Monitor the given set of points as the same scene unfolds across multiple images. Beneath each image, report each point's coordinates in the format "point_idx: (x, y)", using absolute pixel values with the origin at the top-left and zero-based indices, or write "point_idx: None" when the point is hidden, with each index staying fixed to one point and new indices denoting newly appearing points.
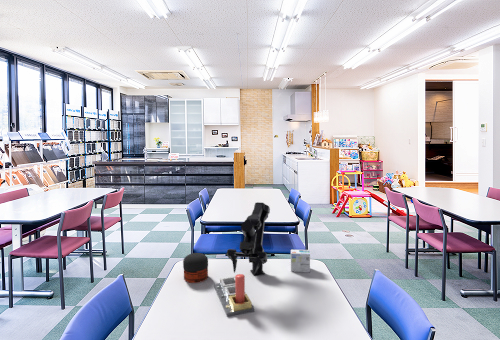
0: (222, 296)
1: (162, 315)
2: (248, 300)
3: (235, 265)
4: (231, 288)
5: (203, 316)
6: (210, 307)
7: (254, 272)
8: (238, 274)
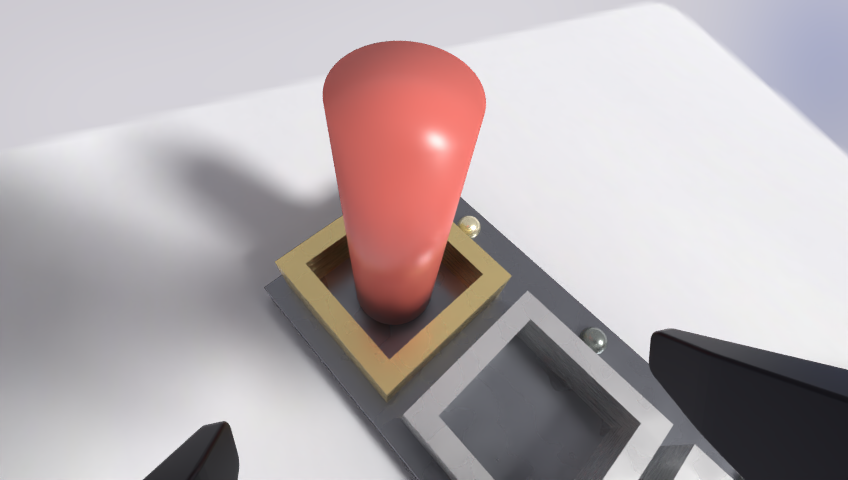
0: (590, 330)
1: (721, 96)
2: (314, 280)
3: (816, 449)
4: (601, 465)
5: (549, 146)
6: (581, 230)
7: (187, 442)
8: (461, 131)
